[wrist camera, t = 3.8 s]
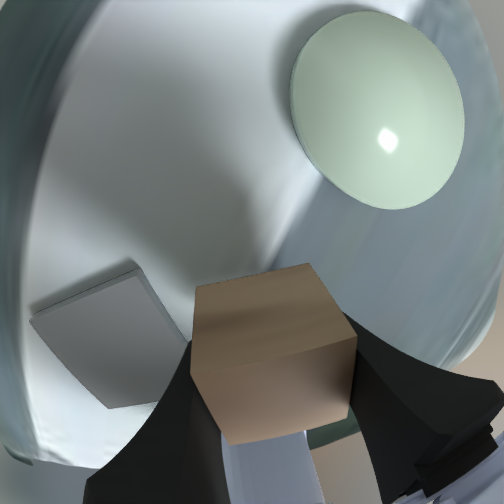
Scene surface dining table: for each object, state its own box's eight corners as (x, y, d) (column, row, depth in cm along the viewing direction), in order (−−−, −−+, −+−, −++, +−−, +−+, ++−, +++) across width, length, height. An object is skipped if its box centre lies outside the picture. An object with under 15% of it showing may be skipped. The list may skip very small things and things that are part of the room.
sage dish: (452, 192, 14) (465, 197, 13) (304, 217, 13) (312, 225, 12) (436, 34, 9) (449, 31, 8) (271, 14, 9) (276, 4, 8)
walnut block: (314, 344, 13) (346, 417, 9) (222, 364, 13) (229, 445, 9) (308, 262, 11) (357, 335, 7) (195, 286, 11) (190, 373, 7)
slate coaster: (213, 379, 17) (213, 388, 16) (110, 401, 17) (108, 409, 17) (140, 267, 13) (136, 275, 12) (34, 314, 13) (28, 321, 13)
